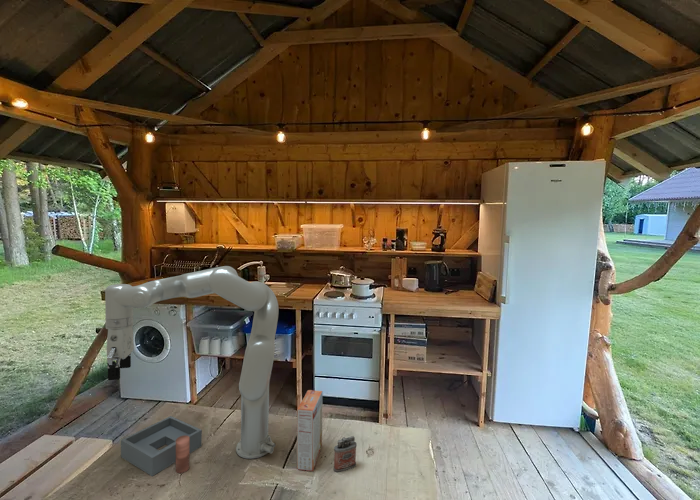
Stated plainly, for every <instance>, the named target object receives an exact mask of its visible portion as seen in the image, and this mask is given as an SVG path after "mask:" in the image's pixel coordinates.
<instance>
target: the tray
mask: <svg viewBox="0 0 700 500" xmlns="http://www.w3.org/2000/svg"><path fill="white" fill-rule="evenodd" d="M202 432H203V430H202V429H201V428H198V427H196V426H195V425H192V424H190V423H187V422H185V421H183V420H180V419H178V418H177V417H175V416H171V415H170V416H168V417H165V418H163V419H161V420H159V421H157V422H155V423H154V424H151V425H149V426H146V427H145V428H142V429H140V430H138V431H136V432H134V433H132V434H130V435H129V436H126V437H124V438H121V439H120V458H121V459H124V460H125V461H126V462H128V463H130V464H131V465H133V466H135V467H136V468H138V469H140V470H141V471H143V472H144V473H146V474H148V475H149V476H151V477H154V476H155V475H157V474H159V473H160V472H161V471H163V470H165V469H166V468H169V467H170V466H171V465H173V464H176V439H177V438H178V437H180V436H185V435H186V436H189V438H190V439H189V454H192V453H193V452H194V451H196V450H198V449H199V448H201V447H202V444H203V443H202V441H203V440H202V439H203V438H202ZM165 445H166V446H165ZM162 446H165V447H163V448H161V447H162ZM159 448H161V449H160V450H159Z"/></svg>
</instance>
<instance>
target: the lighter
mask: <svg viewBox="0 0 700 500" xmlns="http://www.w3.org/2000/svg"><path fill="white" fill-rule="evenodd" d="M355 438H356V437H355V436H354V435H352V436H348V437H345V436H344V437H342V438H341V439H338V440H337V444H336V445H335V446H333V451H334V454H333V455H334V459H333V462H334V463H333V472H334V473H337V474H339V473H344V472H348V471H349V470H353V469H354V468H355V467H356V466H357V461H356V457H357V456H356V455H357V442H356V441H355V440H356V439H355Z"/></svg>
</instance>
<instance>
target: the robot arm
mask: <svg viewBox="0 0 700 500" xmlns="http://www.w3.org/2000/svg"><path fill="white" fill-rule="evenodd" d="M104 293H105V295H104V296H105V305H104V306H105V309H104V310H105V314H104V315H105V329H106V330H107V337H106V338H107V339H106V361H107V363H106V364H107V367H106V368H107V380H108V381H115V380H116V381H118V380H120V379H121V369H130V368H131V366H132V363H131V362H132V361H131V360H132V359H131V355H132V352H134V348H135V347H134V332H133V330H134V329H133V326H134V309H147V308H148V307H151V306H152V305H153V304H155V303H158V302H161V301H166V300H169V299H175V298H181V297H182V298H183V297H184V298H188V299H194V298H199V297H202V296H203V297H204V296H208V295H210V294H211V295H212V294H216V295H218V296H219V297H221V298H223V299H224V300H226V301H228V302H230V303H232V304H234V305H236V306H237V307H239V308H241V309H242V310H243V309H244V310H245V311H248V312H254V314H253V317H252V318H253V320H252V327H251V331H250V334H249V335H250V336H249V340H248V341H247V344H246V348H245V350H244V351H245V352H244V357H243V362H242V368H241V373H240V377H239V383H238V389H239V393H240V395H241V399H240V403H241V405H240V406H241V407H240V408H241V409H240V440H239V441H238V443H237V444H236V445H235V446H236V447H235V453H236V454H237V455H238V456H239V457H240V458H243V459H247V460H250V459H251V460H253V459H254V460H255V459H258V458H261V457H263V456H265V455H267V454H268V453H269V454H273V452H274V449H275V447H276V443H275V442H273V440H272V439H271V435H269V411H270V410H269V409H270V408H269V407H270V405H269V404H270V381H271V376H272V370H273V366H274V364H273V363H274V360H275V358H274V357H275V351H276V350H275V349H276V348H275V347H276V346H275V345H276V343H275V340H276V339H275V338H276V332H277V326H278V320H279V301H278V299H277V297H276V294H275V292H274V291H273V290H272V289H271V288H270V286H269V285H267V284H266V283H264V282H261V281H251V282H250V281H248V280H246V279H244V278H242V277H241V276H239V274H238V272H237V270H236V269H235V268H234V267H232V266H229V265H224V266H218V267H212V268H207V269H203V270H199V271H193V272H188V273H183V274H181V275H176V276H170V277H166V278H161V279H156V280H151V281H147V282H145V283H142V284H141V283H140V284H139V285H133V286H132V285H131V284H129V283H128V284H126V283H116V284H111V285H108V286H107V287H106V288H105V292H104Z"/></svg>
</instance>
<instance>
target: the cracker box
mask: <svg viewBox="0 0 700 500" xmlns="http://www.w3.org/2000/svg"><path fill="white" fill-rule="evenodd" d="M296 423H297V424H296V426H297V427H296V470H297V469H298V470H299V471H305V470H306V471H307V472H308V471H309V472H314V471H315V470H314V469H315V467H316V464H317V461H318V459H319V455H320V452H321V449H322V447H323V391H322V390H313V389H308V390H307V391H306V393H305V395H304V397H303V398H302V400H301V402H300V404H299V405H298V406H297V411H296Z"/></svg>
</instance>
